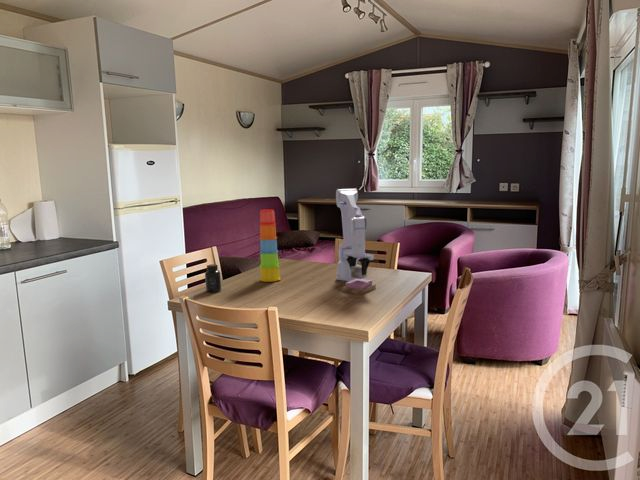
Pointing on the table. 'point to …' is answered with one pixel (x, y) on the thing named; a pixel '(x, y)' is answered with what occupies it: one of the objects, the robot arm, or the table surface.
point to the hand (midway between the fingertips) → (358, 273)
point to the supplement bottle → (213, 279)
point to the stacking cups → (268, 247)
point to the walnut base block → (358, 291)
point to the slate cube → (357, 272)
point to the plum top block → (358, 283)
